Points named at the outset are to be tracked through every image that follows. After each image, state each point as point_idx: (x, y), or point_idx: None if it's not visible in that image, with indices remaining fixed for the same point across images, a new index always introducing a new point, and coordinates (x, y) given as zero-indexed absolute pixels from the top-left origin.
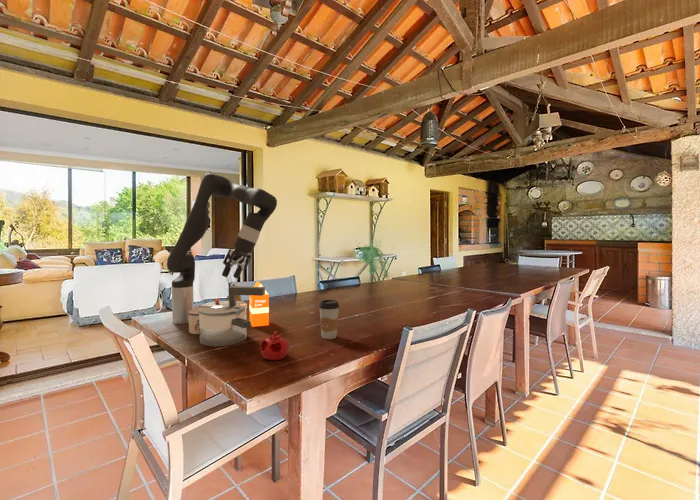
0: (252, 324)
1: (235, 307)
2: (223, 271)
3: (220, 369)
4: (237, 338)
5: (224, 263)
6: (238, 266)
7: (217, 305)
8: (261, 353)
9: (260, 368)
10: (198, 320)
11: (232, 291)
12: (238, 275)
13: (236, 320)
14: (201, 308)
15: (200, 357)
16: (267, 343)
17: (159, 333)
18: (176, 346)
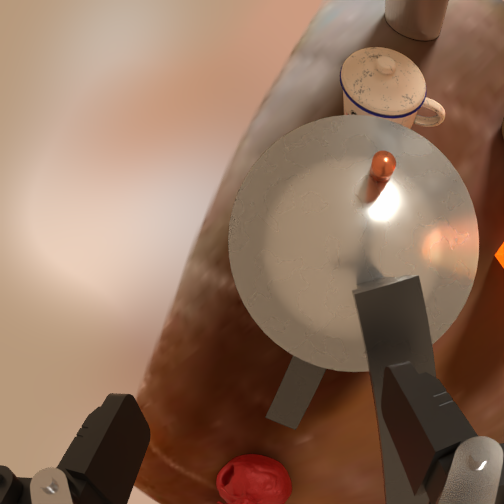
0: (498, 255)
1: (339, 340)
2: (83, 430)
3: (157, 392)
4: None
5: (7, 482)
6: (448, 486)
7: (344, 207)
8: (235, 457)
9: (194, 463)
10: (354, 113)
11: (360, 325)
12: (391, 434)
13: (287, 371)
14: (253, 182)
15: (191, 302)
16: (223, 487)
17: (304, 43)
18: (235, 168)
